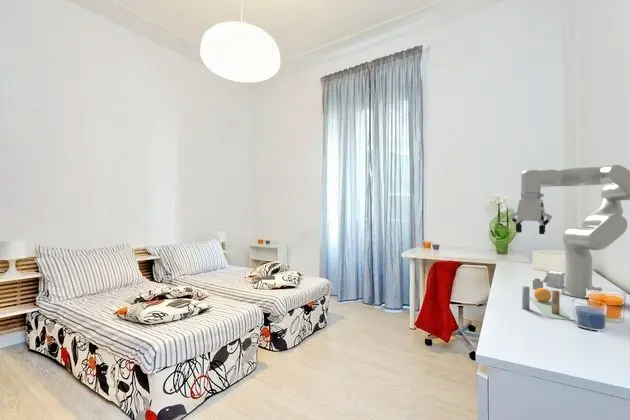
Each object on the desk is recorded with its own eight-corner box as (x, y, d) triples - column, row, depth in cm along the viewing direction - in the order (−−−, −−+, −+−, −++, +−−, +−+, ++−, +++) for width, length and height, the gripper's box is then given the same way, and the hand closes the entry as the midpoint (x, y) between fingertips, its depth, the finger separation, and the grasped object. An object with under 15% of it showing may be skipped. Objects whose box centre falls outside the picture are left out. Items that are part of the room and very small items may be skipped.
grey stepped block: (532, 288, 156) (532, 273, 156) (532, 288, 157) (532, 272, 157) (550, 291, 151) (550, 274, 151) (550, 290, 153) (550, 274, 153)
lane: (528, 297, 140) (528, 297, 140) (549, 299, 137) (549, 299, 137) (547, 317, 114) (547, 317, 114) (574, 320, 111) (574, 320, 111)
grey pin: (526, 307, 126) (526, 286, 126) (530, 309, 123) (530, 287, 123) (520, 307, 126) (520, 286, 126) (525, 309, 123) (525, 287, 123)
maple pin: (556, 313, 119) (556, 289, 119) (561, 315, 117) (561, 291, 117) (550, 313, 119) (550, 290, 119) (554, 315, 117) (554, 291, 117)
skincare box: (550, 284, 165) (550, 270, 165) (564, 286, 159) (564, 272, 159) (546, 286, 161) (546, 272, 161) (560, 288, 156) (560, 274, 156)
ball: (543, 299, 137) (543, 286, 137) (554, 303, 131) (554, 289, 131) (530, 299, 137) (530, 286, 137) (540, 303, 131) (540, 289, 131)
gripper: (556, 196, 137) (555, 234, 138) (515, 197, 153) (515, 231, 153) (547, 195, 134) (547, 235, 134) (506, 197, 149) (506, 232, 149)
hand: (530, 233), depth 143 cm, fingers open, 9 cm apart
